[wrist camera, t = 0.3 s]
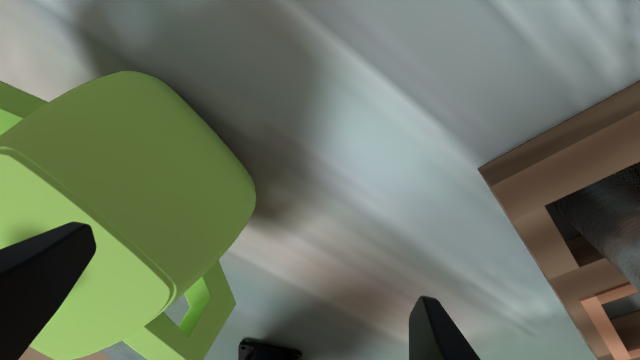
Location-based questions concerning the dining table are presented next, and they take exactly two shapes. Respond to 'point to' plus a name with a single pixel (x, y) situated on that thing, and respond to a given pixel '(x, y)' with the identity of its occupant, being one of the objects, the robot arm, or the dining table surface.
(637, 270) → the peg
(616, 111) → the brown flat block
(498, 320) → the dining table surface
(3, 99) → the teapot
